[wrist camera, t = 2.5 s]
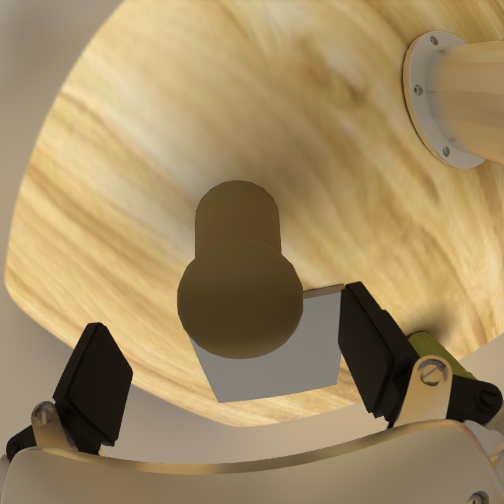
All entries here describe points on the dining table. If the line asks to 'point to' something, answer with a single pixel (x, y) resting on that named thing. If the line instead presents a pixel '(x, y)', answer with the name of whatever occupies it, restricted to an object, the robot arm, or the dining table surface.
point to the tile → (284, 356)
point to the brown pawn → (239, 276)
